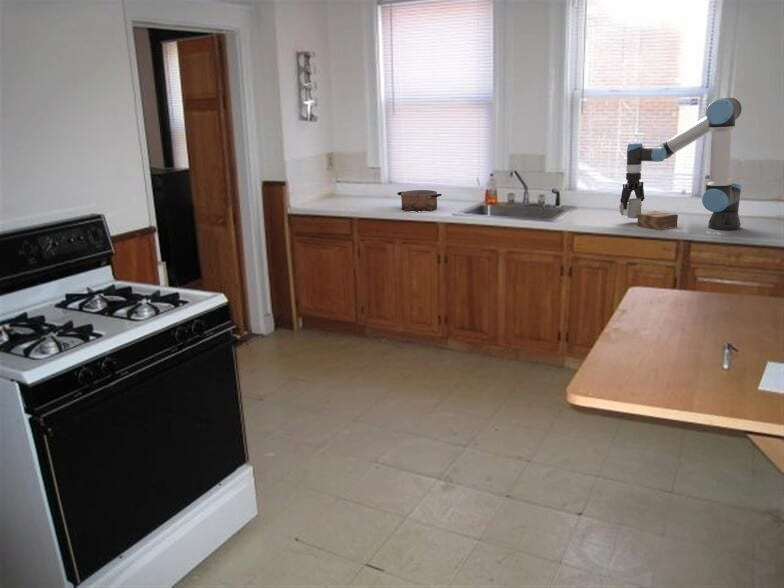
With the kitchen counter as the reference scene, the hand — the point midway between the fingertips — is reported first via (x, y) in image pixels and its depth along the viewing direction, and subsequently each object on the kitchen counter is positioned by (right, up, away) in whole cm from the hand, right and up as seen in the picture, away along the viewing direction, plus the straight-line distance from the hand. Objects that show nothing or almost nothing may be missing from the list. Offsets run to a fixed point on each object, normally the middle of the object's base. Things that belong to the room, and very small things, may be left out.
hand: (631, 214), depth 383 cm
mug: (-1, -2, 0) cm, 2 cm away
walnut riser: (+10, -7, -9) cm, 15 cm away
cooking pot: (-112, +10, +65) cm, 130 cm away
